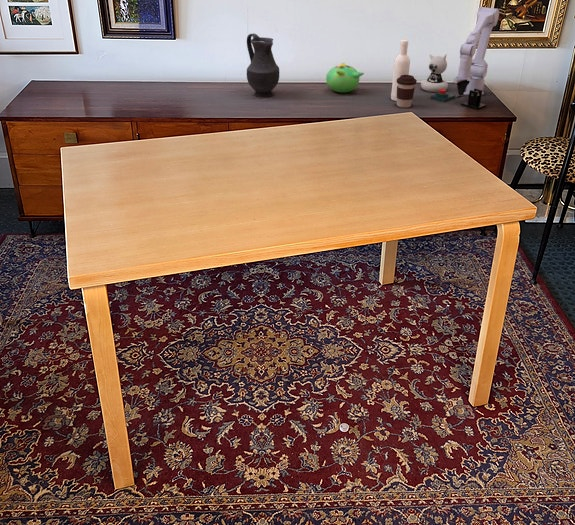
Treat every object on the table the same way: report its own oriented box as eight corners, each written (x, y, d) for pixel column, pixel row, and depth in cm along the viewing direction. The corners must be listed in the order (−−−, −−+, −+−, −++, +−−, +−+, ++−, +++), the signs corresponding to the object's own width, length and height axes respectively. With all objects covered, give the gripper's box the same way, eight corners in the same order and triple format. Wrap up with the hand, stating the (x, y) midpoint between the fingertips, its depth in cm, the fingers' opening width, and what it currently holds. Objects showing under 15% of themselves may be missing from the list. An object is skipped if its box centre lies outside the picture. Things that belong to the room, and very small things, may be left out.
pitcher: (260, 101, 328) (260, 41, 312) (236, 92, 341) (234, 34, 325) (285, 95, 337) (286, 36, 322) (261, 86, 351) (260, 29, 335)
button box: (442, 94, 343) (443, 88, 341) (455, 98, 338) (456, 91, 336) (430, 98, 336) (431, 92, 334) (443, 102, 331) (444, 95, 330)
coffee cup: (412, 103, 329) (416, 74, 321) (414, 109, 321) (417, 79, 313) (393, 102, 330) (396, 73, 322) (394, 108, 321) (397, 78, 314)
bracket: (460, 105, 327) (463, 89, 323) (469, 102, 332) (471, 86, 328) (477, 110, 321) (480, 94, 317) (486, 107, 326) (489, 90, 322)
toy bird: (351, 86, 354) (353, 59, 346) (364, 95, 340) (366, 67, 333) (321, 88, 349) (322, 61, 341) (332, 97, 335) (334, 69, 328)
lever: (456, 99, 329) (456, 95, 328) (463, 97, 333) (462, 93, 332) (475, 96, 321) (474, 92, 320) (481, 94, 324) (480, 89, 324)
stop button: (441, 91, 337) (441, 88, 336) (447, 93, 335) (447, 90, 334) (437, 93, 335) (437, 89, 334) (443, 94, 332) (443, 91, 331)
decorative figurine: (415, 89, 350) (419, 52, 340) (428, 84, 360) (433, 48, 349) (439, 95, 342) (444, 57, 332) (452, 89, 352) (457, 52, 341)
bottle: (395, 95, 340) (401, 37, 324) (408, 98, 336) (415, 40, 320) (388, 99, 334) (394, 40, 318) (401, 102, 330) (408, 42, 315)
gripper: (463, 72, 316) (459, 99, 323) (479, 67, 324) (475, 93, 331) (451, 69, 320) (447, 95, 327) (467, 64, 329) (463, 90, 336)
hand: (460, 94), depth 330 cm, fingers closed, pressing on lever
